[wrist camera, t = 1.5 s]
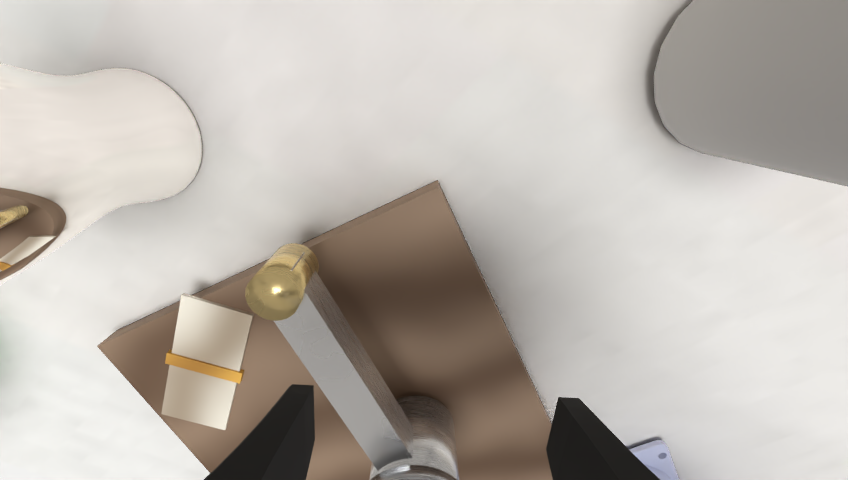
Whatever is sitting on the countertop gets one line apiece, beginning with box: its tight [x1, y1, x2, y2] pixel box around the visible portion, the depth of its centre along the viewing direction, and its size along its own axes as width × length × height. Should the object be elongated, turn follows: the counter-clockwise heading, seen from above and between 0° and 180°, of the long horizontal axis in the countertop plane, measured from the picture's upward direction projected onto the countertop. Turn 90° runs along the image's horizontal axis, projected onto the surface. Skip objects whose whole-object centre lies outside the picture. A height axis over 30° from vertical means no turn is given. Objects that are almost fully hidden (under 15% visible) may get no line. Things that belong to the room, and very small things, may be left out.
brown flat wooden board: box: [97, 180, 553, 480], centre depth 24 cm, size 21×20×2 cm
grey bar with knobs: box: [245, 243, 459, 480], centre depth 19 cm, size 16×5×6 cm, turn 25°
